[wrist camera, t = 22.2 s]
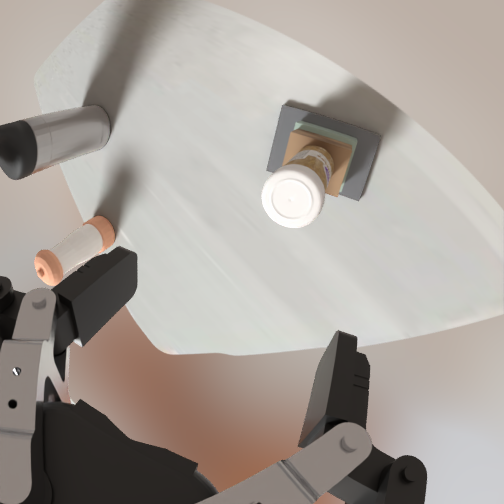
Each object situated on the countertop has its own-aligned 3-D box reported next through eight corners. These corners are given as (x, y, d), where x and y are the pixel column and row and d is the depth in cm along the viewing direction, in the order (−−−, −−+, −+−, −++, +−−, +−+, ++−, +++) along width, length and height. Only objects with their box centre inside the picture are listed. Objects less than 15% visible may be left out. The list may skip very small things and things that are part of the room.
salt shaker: (90, 237, 64) (29, 280, 48) (92, 210, 60) (25, 250, 44) (113, 251, 63) (52, 299, 47) (116, 223, 60) (49, 269, 43)
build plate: (268, 169, 45) (258, 176, 41) (283, 104, 40) (275, 105, 36) (358, 199, 43) (359, 210, 39) (380, 135, 38) (383, 138, 34)
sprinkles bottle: (340, 175, 33) (333, 217, 22) (304, 189, 35) (277, 238, 24) (323, 137, 32) (306, 158, 20) (286, 153, 34) (249, 184, 22)
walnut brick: (287, 169, 39) (279, 178, 35) (298, 128, 37) (290, 131, 32) (339, 186, 38) (337, 197, 34) (352, 145, 36) (352, 151, 31)
